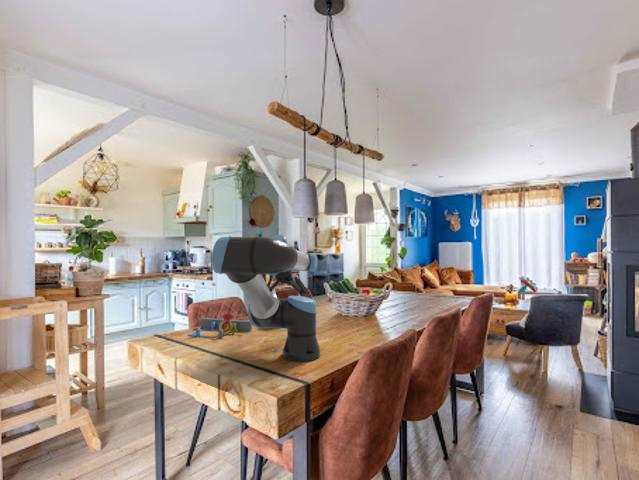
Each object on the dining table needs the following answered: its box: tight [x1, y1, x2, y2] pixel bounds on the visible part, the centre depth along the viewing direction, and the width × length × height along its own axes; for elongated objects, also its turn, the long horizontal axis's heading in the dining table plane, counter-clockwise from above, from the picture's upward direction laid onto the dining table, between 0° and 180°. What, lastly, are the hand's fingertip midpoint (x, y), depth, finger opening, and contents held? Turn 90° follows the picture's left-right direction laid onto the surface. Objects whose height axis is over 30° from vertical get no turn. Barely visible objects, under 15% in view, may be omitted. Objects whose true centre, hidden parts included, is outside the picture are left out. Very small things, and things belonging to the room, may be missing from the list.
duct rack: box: [187, 317, 253, 340], centre depth 175 cm, size 18×28×5 cm, turn 77°
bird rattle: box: [219, 312, 239, 337], centre depth 172 cm, size 6×11×9 cm
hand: (288, 301), depth 172 cm, fingers open, 13 cm apart
